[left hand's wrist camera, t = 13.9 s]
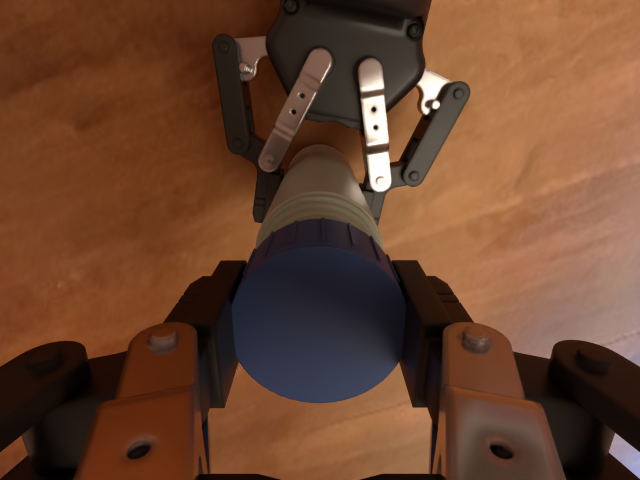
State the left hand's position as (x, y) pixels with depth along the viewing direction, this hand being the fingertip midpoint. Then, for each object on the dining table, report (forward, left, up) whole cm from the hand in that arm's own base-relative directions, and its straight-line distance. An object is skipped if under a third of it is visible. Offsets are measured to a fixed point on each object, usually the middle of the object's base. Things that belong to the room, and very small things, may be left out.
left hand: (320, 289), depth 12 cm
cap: (0, 0, +2) cm, 2 cm away
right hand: (-1, +3, -12) cm, 13 cm away
